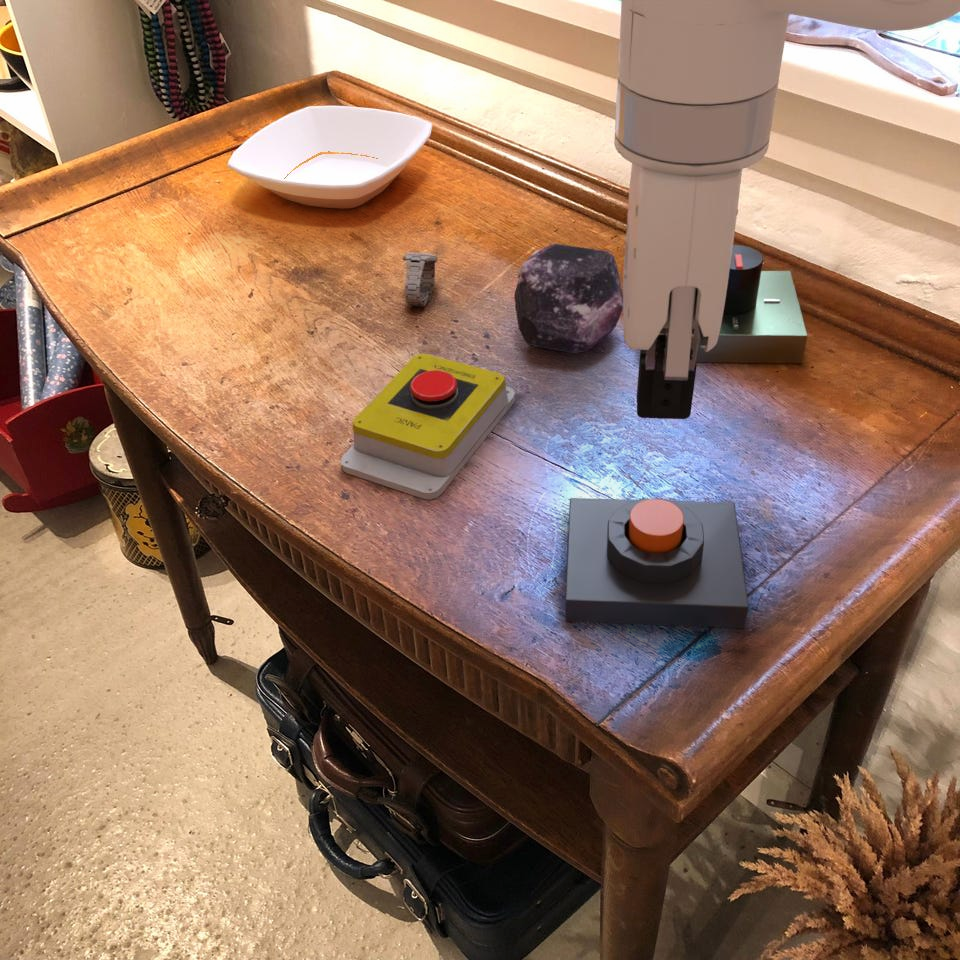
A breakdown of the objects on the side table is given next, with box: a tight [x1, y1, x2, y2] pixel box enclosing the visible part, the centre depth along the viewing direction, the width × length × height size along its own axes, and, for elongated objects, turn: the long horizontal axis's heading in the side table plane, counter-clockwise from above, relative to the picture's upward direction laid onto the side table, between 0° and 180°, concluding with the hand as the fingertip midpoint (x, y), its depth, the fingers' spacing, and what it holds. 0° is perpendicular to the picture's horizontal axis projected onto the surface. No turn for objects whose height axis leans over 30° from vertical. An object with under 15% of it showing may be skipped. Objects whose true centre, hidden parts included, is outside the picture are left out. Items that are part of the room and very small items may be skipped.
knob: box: [723, 244, 764, 314], centre depth 87 cm, size 4×4×5 cm
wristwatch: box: [402, 252, 438, 307], centre depth 96 cm, size 4×6×5 cm, turn 168°
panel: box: [696, 270, 808, 365], centre depth 90 cm, size 14×11×3 cm
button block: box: [564, 497, 750, 629], centre depth 68 cm, size 12×10×4 cm
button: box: [629, 498, 684, 553], centre depth 66 cm, size 4×4×2 cm
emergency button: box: [340, 353, 517, 500], centre depth 81 cm, size 9×4×15 cm
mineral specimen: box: [513, 243, 623, 354], centre depth 88 cm, size 10×10×10 cm
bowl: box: [226, 105, 433, 210], centre depth 117 cm, size 22×22×5 cm
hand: (662, 409), depth 59 cm, fingers closed
